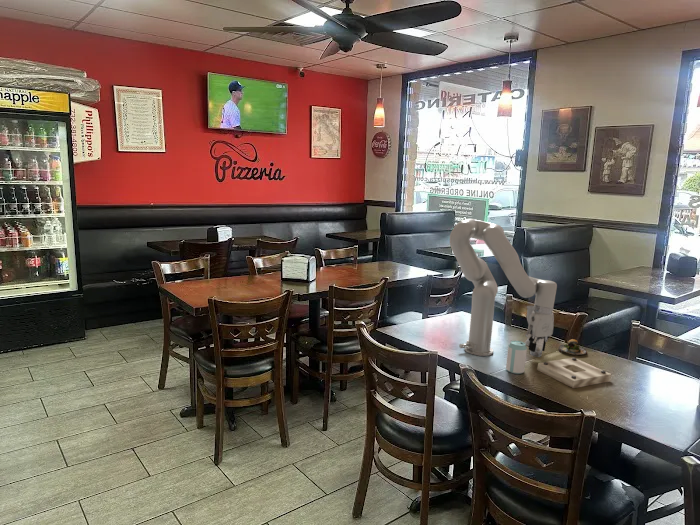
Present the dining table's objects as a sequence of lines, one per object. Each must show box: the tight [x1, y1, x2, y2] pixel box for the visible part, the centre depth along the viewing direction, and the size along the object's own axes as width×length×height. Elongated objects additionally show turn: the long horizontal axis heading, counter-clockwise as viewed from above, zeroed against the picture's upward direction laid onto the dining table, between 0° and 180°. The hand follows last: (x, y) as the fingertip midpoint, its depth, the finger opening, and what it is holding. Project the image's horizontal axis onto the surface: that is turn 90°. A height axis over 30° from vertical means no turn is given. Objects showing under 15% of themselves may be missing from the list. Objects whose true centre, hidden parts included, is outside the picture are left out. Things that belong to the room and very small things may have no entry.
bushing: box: [529, 337, 544, 358], centre depth 207 cm, size 5×5×8 cm
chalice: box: [524, 305, 534, 347], centre depth 228 cm, size 7×7×18 cm
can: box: [505, 340, 528, 375], centre depth 195 cm, size 7×7×12 cm
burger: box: [558, 334, 588, 356], centre depth 221 cm, size 12×12×8 cm
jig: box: [536, 357, 612, 389], centre depth 194 cm, size 20×18×4 cm
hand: (536, 349), depth 207 cm, fingers closed on bushing, 4 cm apart
